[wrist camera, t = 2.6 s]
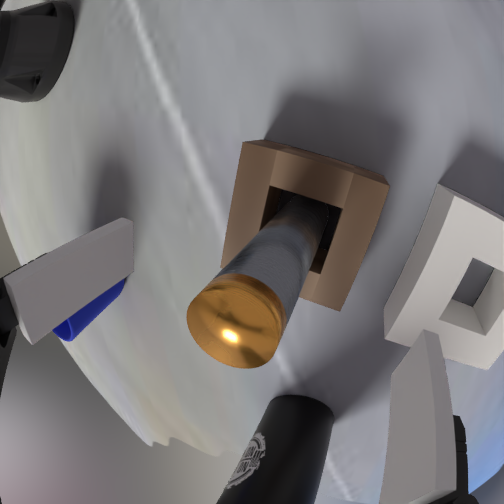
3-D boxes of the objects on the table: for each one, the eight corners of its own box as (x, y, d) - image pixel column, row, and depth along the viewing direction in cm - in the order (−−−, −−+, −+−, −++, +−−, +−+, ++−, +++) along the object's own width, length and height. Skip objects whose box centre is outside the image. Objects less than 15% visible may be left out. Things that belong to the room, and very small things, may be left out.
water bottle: (280, 378, 29) (184, 568, 9) (357, 411, 28) (304, 596, 8) (250, 414, 34) (172, 555, 15) (315, 442, 33) (259, 583, 13)
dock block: (383, 308, 22) (384, 339, 18) (437, 183, 16) (454, 195, 13) (477, 340, 19) (487, 370, 16) (535, 237, 14) (558, 257, 11)
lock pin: (282, 225, 22) (184, 345, 10) (292, 187, 21) (189, 276, 9) (321, 239, 21) (263, 380, 9) (333, 200, 20) (288, 315, 8)
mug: (73, 267, 36) (21, 300, 27) (103, 224, 29) (33, 260, 21) (105, 313, 37) (57, 353, 28) (143, 282, 31) (81, 332, 22)
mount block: (241, 246, 24) (220, 267, 21) (263, 139, 20) (242, 141, 16) (344, 283, 22) (340, 311, 19) (383, 175, 18) (389, 186, 14)
